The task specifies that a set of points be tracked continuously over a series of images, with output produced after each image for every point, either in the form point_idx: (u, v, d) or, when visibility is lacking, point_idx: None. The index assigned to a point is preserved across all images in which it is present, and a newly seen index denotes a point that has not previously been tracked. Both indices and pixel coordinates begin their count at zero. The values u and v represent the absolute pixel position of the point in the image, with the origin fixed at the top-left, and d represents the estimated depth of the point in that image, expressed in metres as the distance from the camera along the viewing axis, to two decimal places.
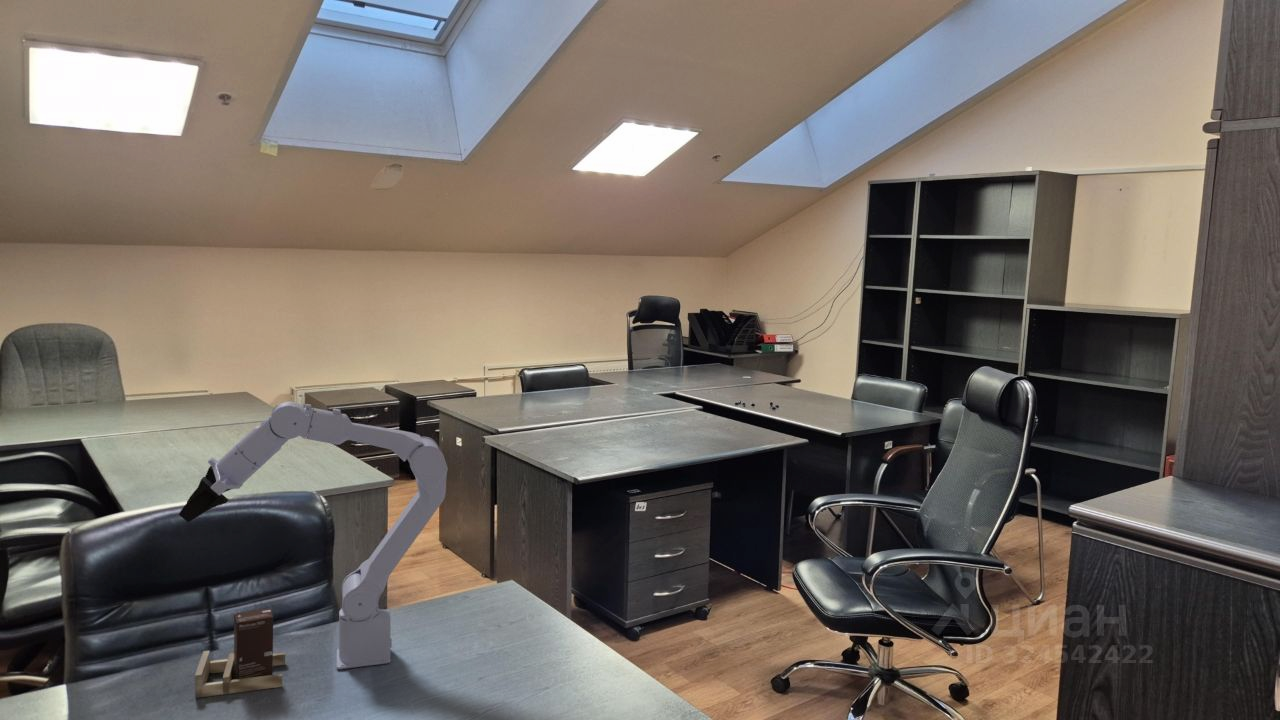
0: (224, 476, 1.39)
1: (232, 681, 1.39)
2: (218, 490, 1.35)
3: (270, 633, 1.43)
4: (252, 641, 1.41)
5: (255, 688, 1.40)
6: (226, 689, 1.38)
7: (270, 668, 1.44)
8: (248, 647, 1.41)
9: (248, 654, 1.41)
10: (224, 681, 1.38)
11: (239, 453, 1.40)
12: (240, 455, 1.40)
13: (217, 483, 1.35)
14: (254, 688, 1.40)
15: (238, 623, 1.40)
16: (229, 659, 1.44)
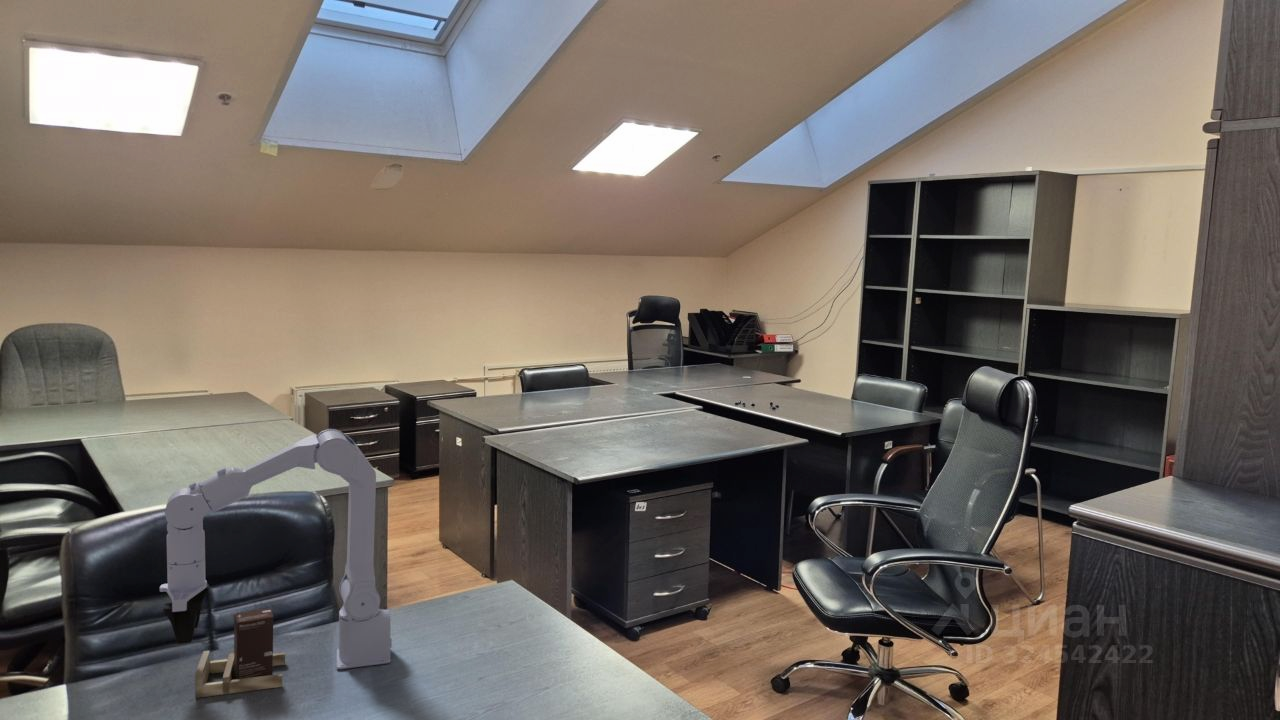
0: (180, 591, 1.36)
1: (232, 681, 1.39)
2: (180, 608, 1.32)
3: (270, 633, 1.43)
4: (252, 641, 1.41)
5: (255, 688, 1.40)
6: (226, 689, 1.38)
7: (270, 668, 1.44)
8: (248, 647, 1.41)
9: (248, 654, 1.41)
10: (224, 681, 1.38)
11: (173, 566, 1.35)
12: (175, 566, 1.35)
13: (174, 604, 1.32)
14: (254, 688, 1.40)
15: (238, 623, 1.40)
16: (229, 659, 1.44)
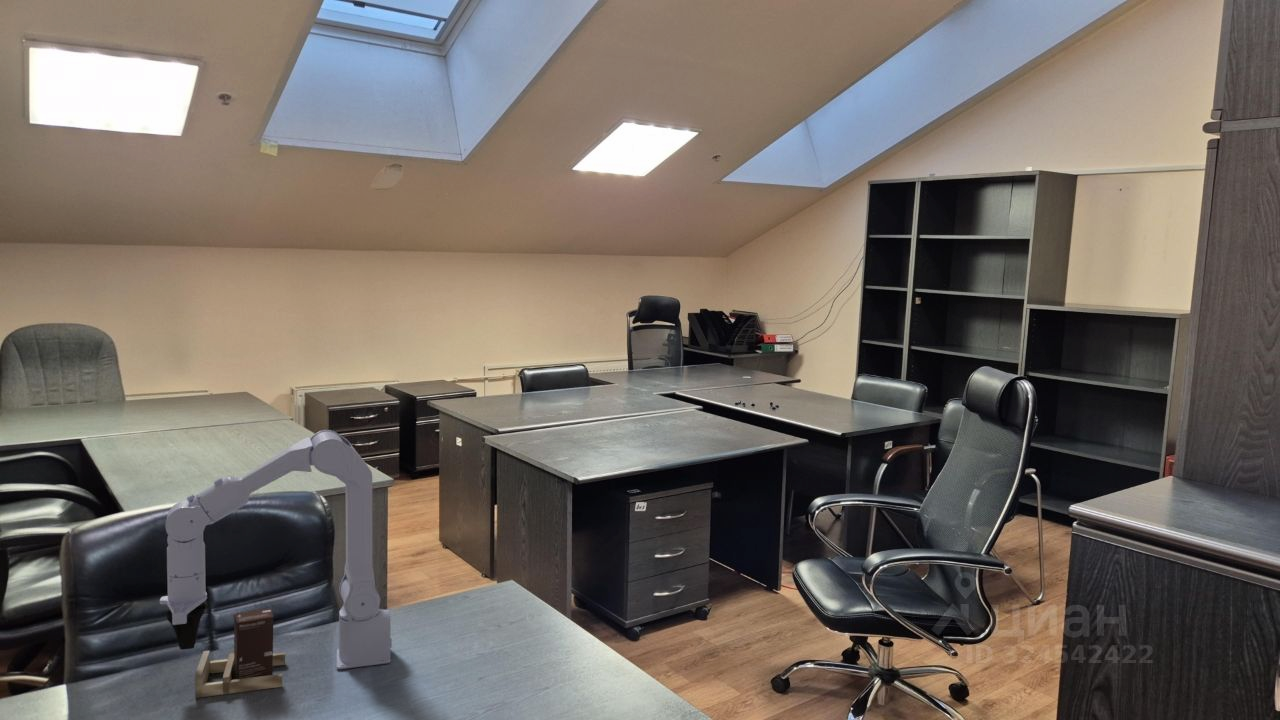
0: (180, 604, 1.36)
1: (232, 681, 1.39)
2: (180, 621, 1.32)
3: (270, 633, 1.43)
4: (252, 641, 1.41)
5: (255, 688, 1.40)
6: (226, 689, 1.38)
7: (270, 668, 1.44)
8: (248, 647, 1.41)
9: (248, 654, 1.41)
10: (224, 681, 1.38)
11: (173, 578, 1.36)
12: (175, 579, 1.36)
13: (174, 617, 1.32)
14: (254, 688, 1.40)
15: (238, 623, 1.40)
16: (229, 659, 1.44)
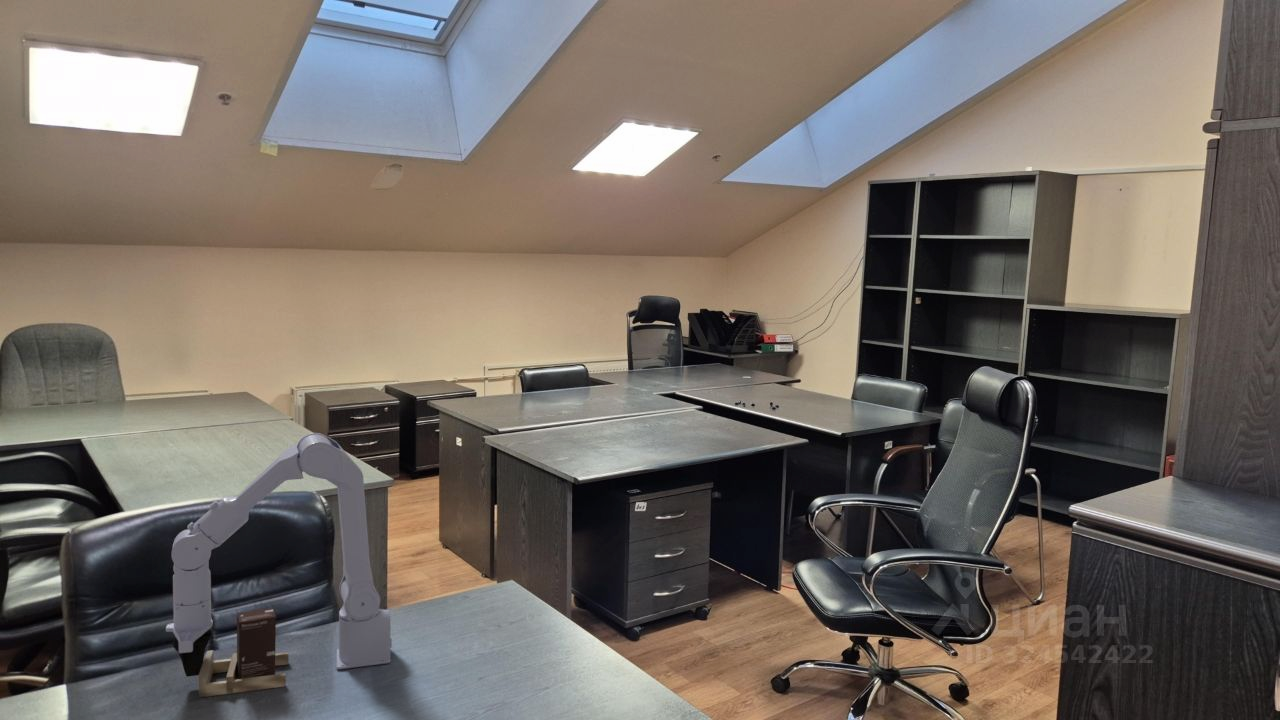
0: (186, 631, 1.37)
1: (236, 681, 1.39)
2: (186, 649, 1.33)
3: (273, 633, 1.43)
4: (255, 641, 1.41)
5: (259, 688, 1.40)
6: (229, 689, 1.39)
7: (273, 668, 1.44)
8: (250, 647, 1.41)
9: (250, 653, 1.41)
10: (228, 681, 1.38)
11: (179, 606, 1.36)
12: (181, 607, 1.36)
13: (180, 645, 1.33)
14: (258, 688, 1.40)
15: (240, 623, 1.40)
16: (233, 659, 1.45)
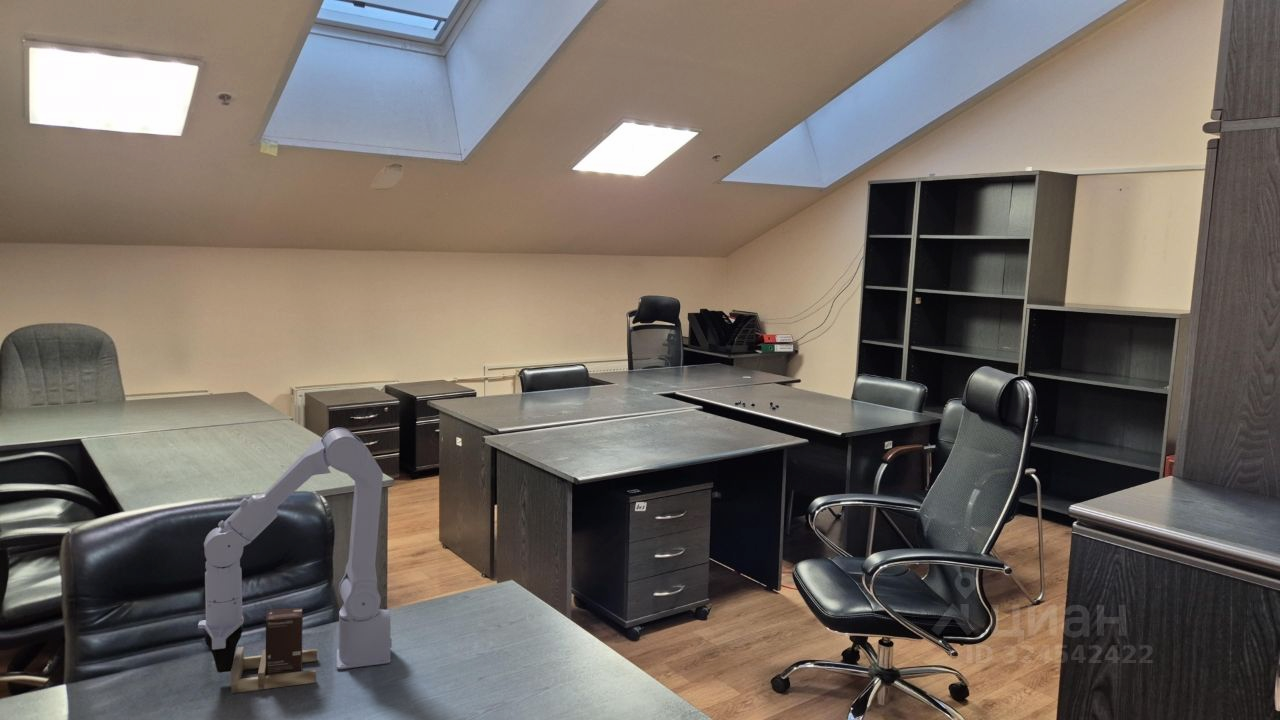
0: (219, 628, 1.38)
1: (267, 677, 1.41)
2: (219, 645, 1.35)
3: (298, 633, 1.43)
4: (281, 639, 1.42)
5: (289, 684, 1.42)
6: (261, 684, 1.40)
7: (298, 668, 1.44)
8: (276, 645, 1.42)
9: (276, 652, 1.42)
10: (259, 677, 1.40)
11: (211, 603, 1.38)
12: (214, 604, 1.38)
13: (213, 642, 1.34)
14: (288, 684, 1.42)
15: (267, 620, 1.41)
16: (263, 655, 1.46)
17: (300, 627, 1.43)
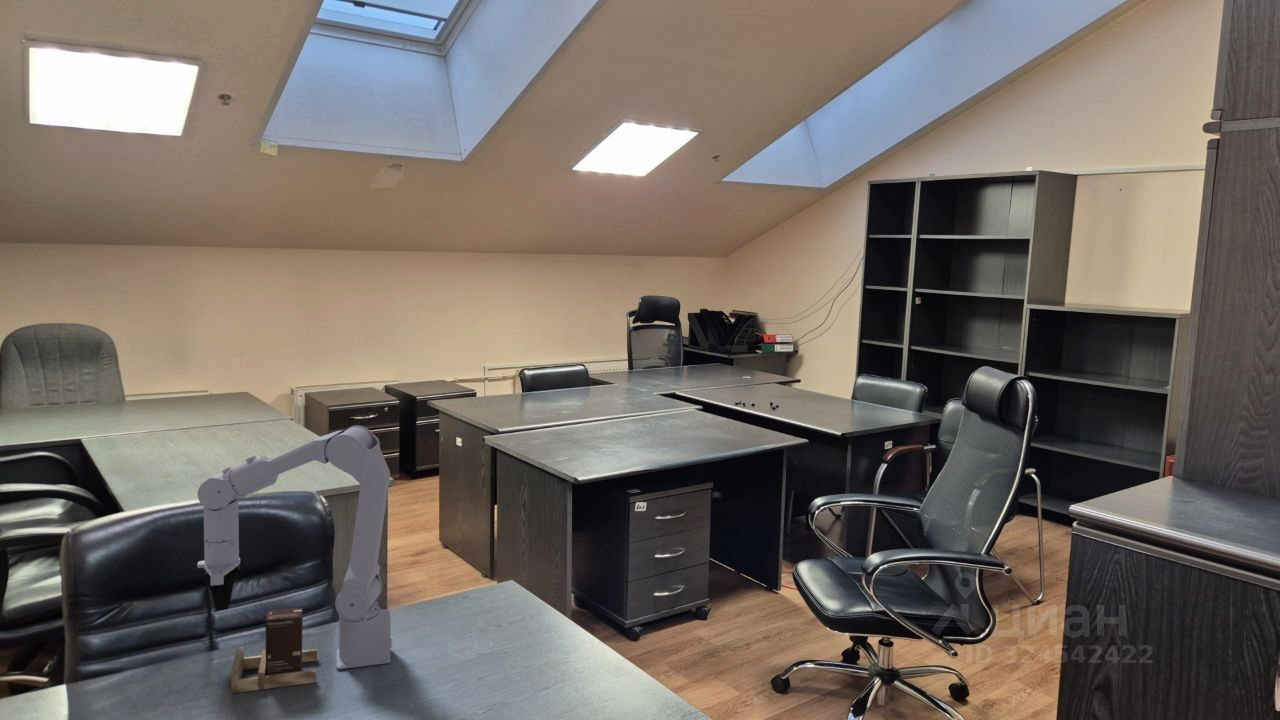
0: (217, 567, 1.47)
1: (267, 677, 1.41)
2: (217, 582, 1.43)
3: (298, 633, 1.43)
4: (281, 639, 1.42)
5: (289, 684, 1.42)
6: (261, 684, 1.40)
7: (298, 668, 1.44)
8: (276, 645, 1.42)
9: (276, 652, 1.42)
10: (259, 677, 1.40)
11: (210, 544, 1.47)
12: (212, 544, 1.47)
13: (212, 578, 1.43)
14: (288, 684, 1.42)
15: (267, 620, 1.41)
16: (263, 655, 1.46)
17: (300, 627, 1.43)
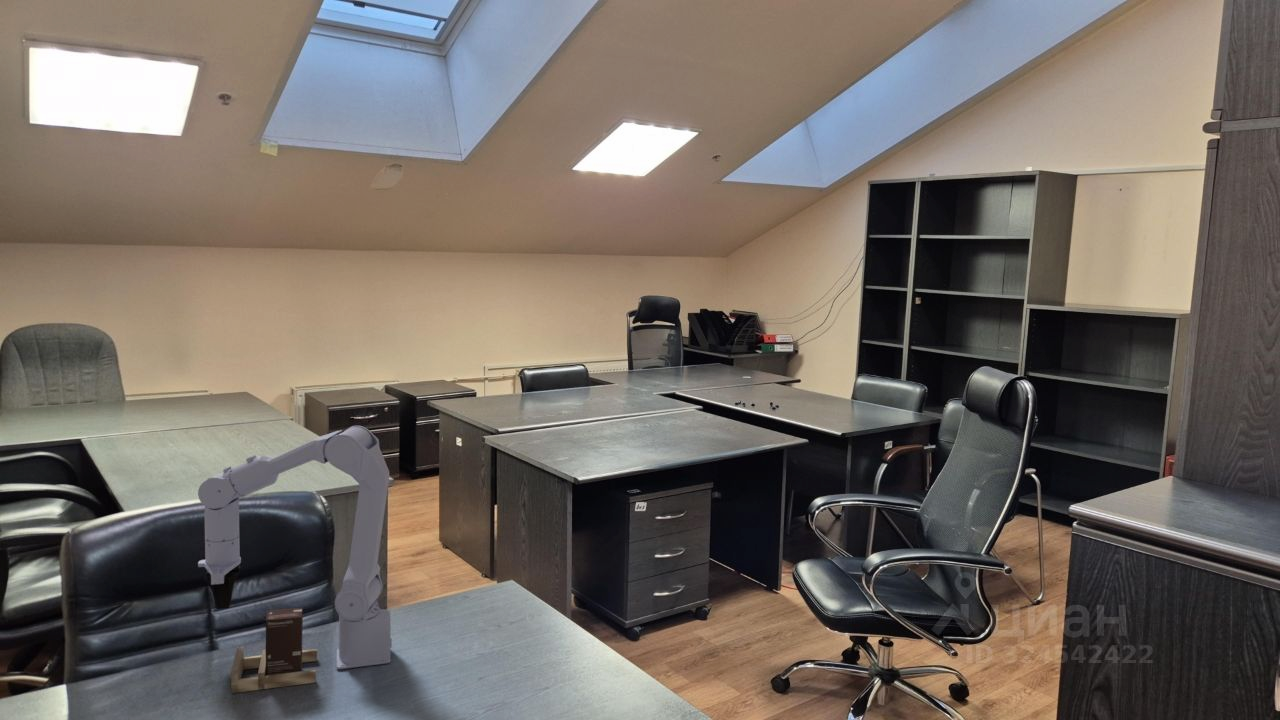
0: (217, 566, 1.47)
1: (267, 677, 1.41)
2: (218, 581, 1.44)
3: (298, 633, 1.43)
4: (281, 639, 1.42)
5: (289, 684, 1.42)
6: (261, 684, 1.40)
7: (298, 668, 1.44)
8: (276, 645, 1.42)
9: (276, 652, 1.42)
10: (259, 677, 1.40)
11: (211, 543, 1.47)
12: (213, 543, 1.47)
13: (212, 577, 1.43)
14: (288, 684, 1.42)
15: (267, 620, 1.41)
16: (263, 655, 1.46)
17: (300, 627, 1.43)
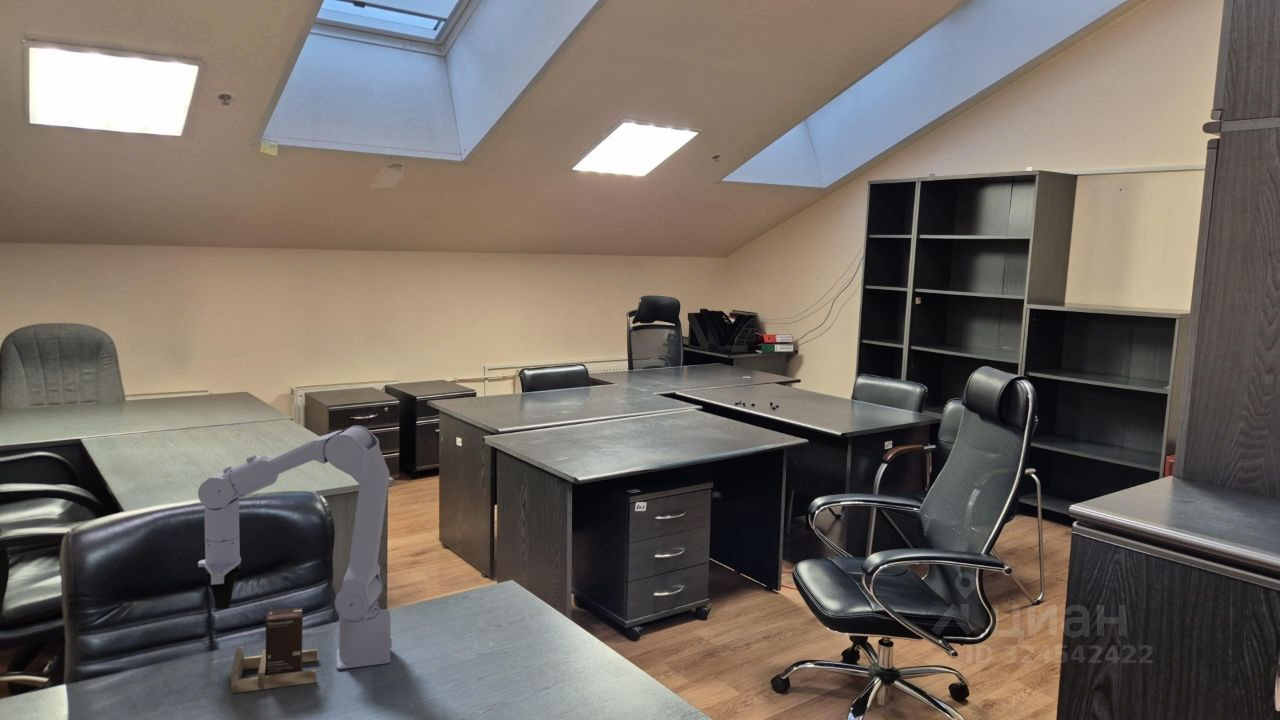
0: (217, 566, 1.47)
1: (267, 677, 1.41)
2: (218, 581, 1.44)
3: (298, 633, 1.43)
4: (281, 639, 1.42)
5: (289, 684, 1.42)
6: (261, 684, 1.40)
7: (298, 668, 1.44)
8: (276, 645, 1.42)
9: (276, 652, 1.42)
10: (259, 677, 1.40)
11: (211, 543, 1.47)
12: (213, 543, 1.47)
13: (212, 577, 1.43)
14: (288, 684, 1.42)
15: (267, 620, 1.41)
16: (263, 655, 1.46)
17: (300, 627, 1.43)
